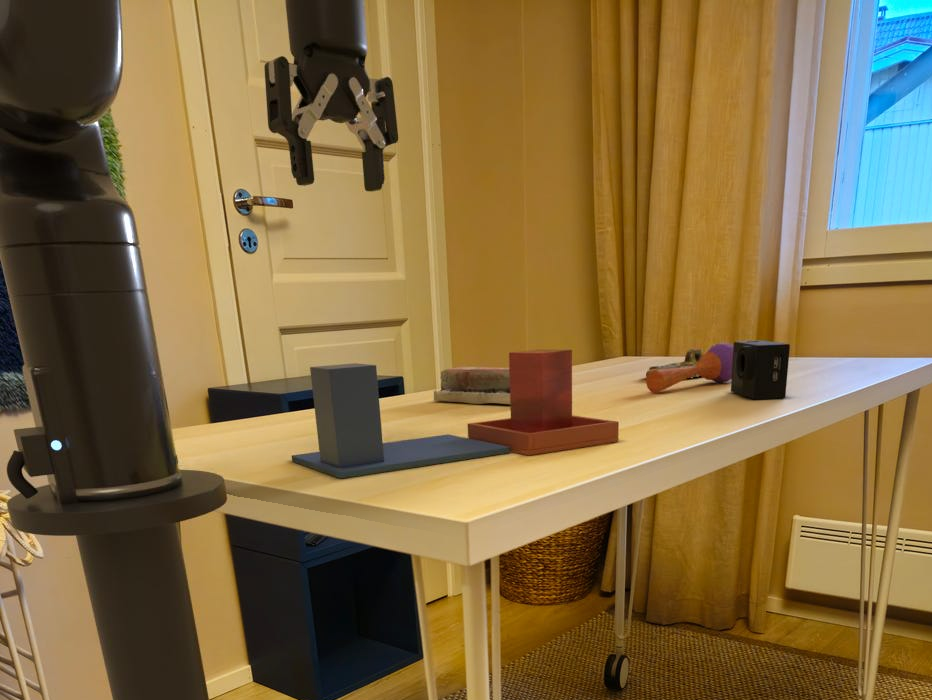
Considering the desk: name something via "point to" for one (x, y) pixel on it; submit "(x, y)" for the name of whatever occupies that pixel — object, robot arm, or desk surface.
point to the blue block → (347, 414)
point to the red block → (540, 390)
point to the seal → (690, 361)
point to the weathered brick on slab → (474, 385)
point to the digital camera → (760, 369)
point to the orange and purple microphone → (696, 369)
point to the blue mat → (410, 455)
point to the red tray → (546, 435)
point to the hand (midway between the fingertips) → (340, 187)
